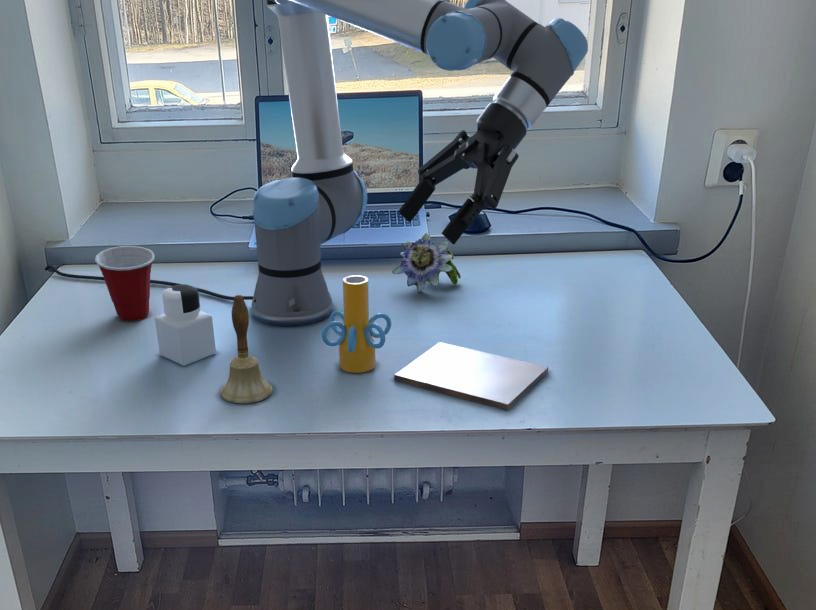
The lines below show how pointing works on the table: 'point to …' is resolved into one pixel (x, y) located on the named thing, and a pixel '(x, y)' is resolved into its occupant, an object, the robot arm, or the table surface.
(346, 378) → the table surface
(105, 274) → the plastic cup
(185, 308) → the medicine bottle
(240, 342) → the hand bell
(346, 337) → the cylinder
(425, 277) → the passion flower
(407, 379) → the plate
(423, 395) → the table surface
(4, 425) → the table surface
